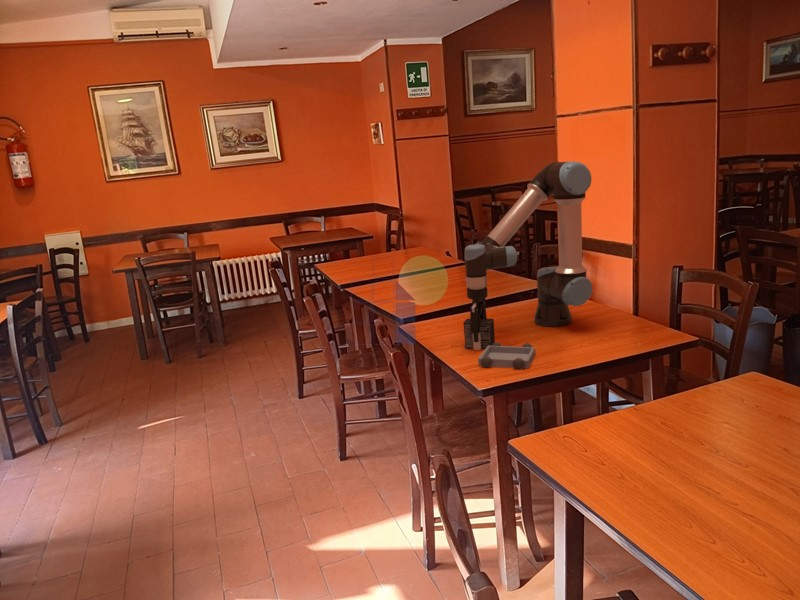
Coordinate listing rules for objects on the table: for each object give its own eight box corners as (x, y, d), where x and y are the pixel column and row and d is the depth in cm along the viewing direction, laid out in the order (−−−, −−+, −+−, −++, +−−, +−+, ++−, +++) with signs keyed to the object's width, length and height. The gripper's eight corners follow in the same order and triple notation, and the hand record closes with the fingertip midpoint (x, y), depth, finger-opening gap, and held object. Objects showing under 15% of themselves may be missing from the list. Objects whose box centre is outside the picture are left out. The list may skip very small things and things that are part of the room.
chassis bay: (489, 351, 220) (488, 341, 219) (535, 353, 213) (535, 343, 213) (477, 367, 205) (476, 357, 204) (527, 370, 198) (527, 359, 198)
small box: (495, 344, 227) (494, 317, 224) (492, 350, 221) (491, 322, 219) (468, 343, 231) (466, 317, 228) (464, 349, 225) (462, 322, 222)
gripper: (474, 280, 231) (477, 337, 236) (459, 293, 212) (463, 354, 218) (493, 280, 228) (496, 338, 233) (479, 293, 210) (483, 355, 215)
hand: (480, 346), depth 226 cm, fingers open, 8 cm apart
